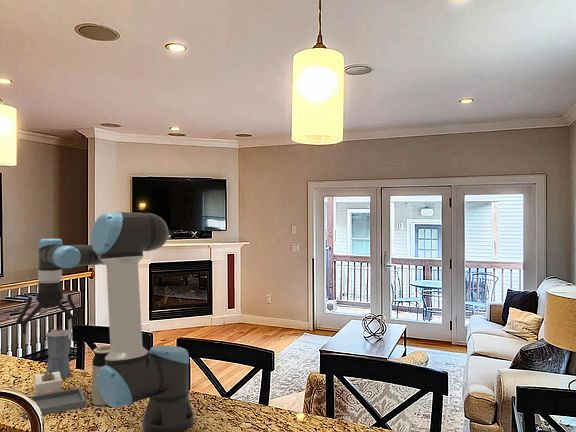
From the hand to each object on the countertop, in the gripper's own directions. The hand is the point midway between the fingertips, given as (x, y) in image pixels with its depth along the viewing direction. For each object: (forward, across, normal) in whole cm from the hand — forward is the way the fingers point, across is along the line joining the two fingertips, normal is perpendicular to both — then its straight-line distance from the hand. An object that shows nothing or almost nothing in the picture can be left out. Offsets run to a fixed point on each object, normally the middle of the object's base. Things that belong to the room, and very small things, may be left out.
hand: (48, 340), depth 160 cm
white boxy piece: (+18, 0, 0) cm, 18 cm away
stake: (+18, 0, 0) cm, 18 cm away
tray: (+18, -1, +14) cm, 23 cm away
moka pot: (+19, -4, -16) cm, 25 cm away
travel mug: (+18, -16, +19) cm, 31 cm away
